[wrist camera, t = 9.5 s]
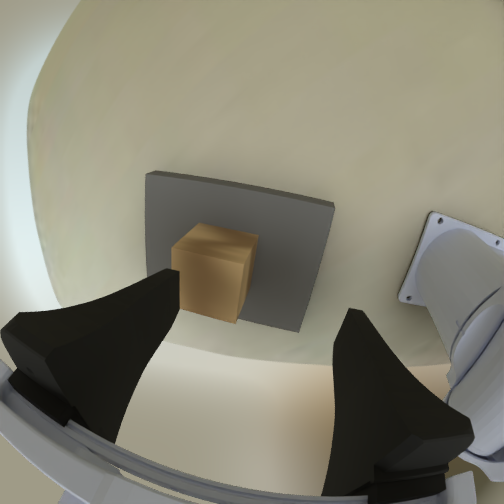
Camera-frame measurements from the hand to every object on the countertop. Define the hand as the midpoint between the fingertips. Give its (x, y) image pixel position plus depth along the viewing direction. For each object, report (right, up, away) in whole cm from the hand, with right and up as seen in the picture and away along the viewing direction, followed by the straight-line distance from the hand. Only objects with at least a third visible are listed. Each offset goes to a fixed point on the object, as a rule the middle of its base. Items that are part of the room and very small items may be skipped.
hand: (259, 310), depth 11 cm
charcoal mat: (-2, +3, +11) cm, 11 cm away
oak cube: (-2, +2, +10) cm, 10 cm away
